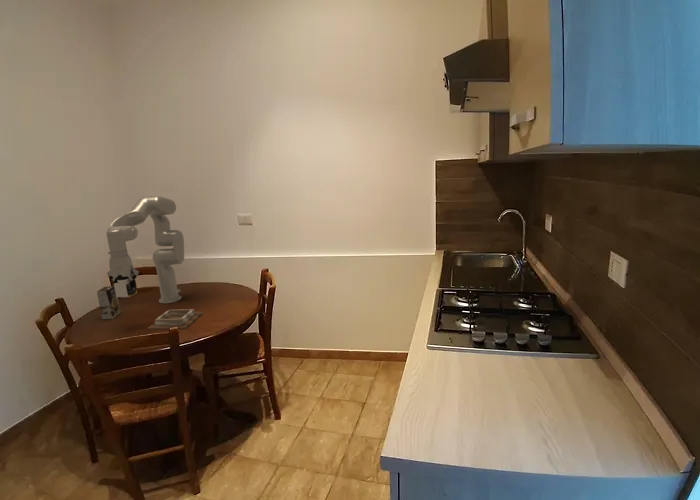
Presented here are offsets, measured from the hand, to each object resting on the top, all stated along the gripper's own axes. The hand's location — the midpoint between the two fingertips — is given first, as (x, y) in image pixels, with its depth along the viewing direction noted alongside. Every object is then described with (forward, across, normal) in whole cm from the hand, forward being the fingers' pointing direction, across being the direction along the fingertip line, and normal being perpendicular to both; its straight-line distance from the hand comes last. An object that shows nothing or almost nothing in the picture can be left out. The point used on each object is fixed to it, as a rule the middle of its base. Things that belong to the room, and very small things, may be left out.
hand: (125, 287), depth 219 cm
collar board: (+21, +21, +4) cm, 30 cm away
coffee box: (+21, -22, +15) cm, 34 cm away
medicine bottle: (+4, 0, 0) cm, 4 cm away
